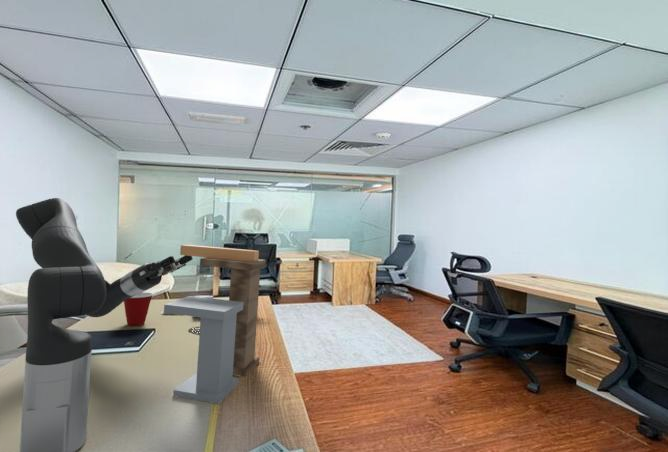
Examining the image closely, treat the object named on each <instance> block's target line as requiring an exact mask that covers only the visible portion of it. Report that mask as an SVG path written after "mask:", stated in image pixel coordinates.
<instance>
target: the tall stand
mask: <svg viewBox="0 0 668 452" xmlns="http://www.w3.org/2000/svg"><path fill="white" fill-rule="evenodd" d="M199 258H200V259H199V266H203V267H212V268H222V269H223V268H224V269H230V279H229V283H230V284H229V294H228V295H229V297H228V300H230V301H238V302H244V303H243V310H241V311H240V312H238V313H237V318H236V333H235V348H234V363H233V376H238V377H246V376H247V375H248V374H249V373H250V372H251V371H252V370H253V369H254V368H255V367H256V366H257V364H259V363H260V356H256V355H255V354H256V342H257V341H256V340H257V339H256V338H257V337H256V336H257V326H258V307H259V293H260V292H259V291H260V280H261V279H260V278H261V268H263V267H266V264H267V263H266V261H267V260H266V259H262V258H261V259H260V258H258V261H255V262H252V261H241V260H230V259H219V258H208V257H199Z"/></svg>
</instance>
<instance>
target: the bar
mask: <svg viewBox="0 0 668 452" xmlns="http://www.w3.org/2000/svg"><path fill="white" fill-rule="evenodd" d="M259 253H260V250H253V249H242V248H232V247H231V248H230V247H219V246H207V245H195V244H180V252H179V255H180V256H185V255H186V256H192V257H199V258H207V257H208V258H219V259H230V260H241V261H252V262H255V261H258V259H259V257H260V256H259Z"/></svg>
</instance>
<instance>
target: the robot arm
mask: <svg viewBox="0 0 668 452" xmlns="http://www.w3.org/2000/svg"><path fill="white" fill-rule="evenodd" d="M15 216H16V219H17V221H18V223H19V225H20V227H21V228H22V229H23V231H24V232H25V234H26V235H27V236H28V237H29V238H30V239H31V252H32V257H33V260H34V261H35V263H36V264H37V265H38V266H39V267H40V268H37V269H36V270H34V271H33V272H32V274H30V276H29V280H28V285H27V297H26V298H27V301H26V302H27V336H26V337H27V338H26V347H25V348H26V351H25V360H24V361H25V362H24V377H23V392H22V405H21V407H22V409H21V410H22V411H21V424H20V439H19V440H20V442H19V452H77V451H78V450H79V449H80V448H81V447H83V445H84V444H85V442H86V441H87V433H88V432H87V430H88V418H89V417H88V416H89V415H88V414H89V400H90V399H89V398H90V383H91V381H90V380H91V370H92V369H91V367H92V352H93V351H92V350H93V337H92V335H91V334H90V333H89V332H86V331H82V330H76V329H68V328H63V327H61V326H59V325H55V324H53V321H54V320H58V319H59V320H60V319H68V318H74V317H82V316H83V317H84V316H88V317H90V318H100V317H104V316H106V315H108V314H110V313H111V312H112V311H115V309H116V308H117V307H119V306H120V305H121V304H122V303H124V301H125V300H127V299H129V298H131V297H133V296H135V295H137V294H140V293H145V292H146V291H148V290H150V289H152V288H153V287H155V286H158V285H159V284H160V283H161V281H162V279H163V278H162V277H163V276H167V275H168V274H169V273H174V272H176V271H177V270H179V269H181V268H184V267H186V266H187V263H189V262H192V260H193V256H186V255H182V257H179V258H177V259H175V258H174V256H173V255H170V256H168V257H166V258H164V259H162V260H158V261H157V262H151V263H150V262H148V263H144V264H143V265H141V266H138V267H136V268H135V269H133V270H130V271H129V272H128V273H126V274H125V275H124V276H122V277H120V278H118V279H116V280H114V281H113V282H111V283H110V282H109V281H107V280H106V279H105V277H104V274H103V272H102V271H101V269H100V268H99V266H98V265H97V263H96V262H95V261H94V260H93V258H92V257H91V255H90V252H89V251H88V247H87V244H86V241H85V240H84V238H83V235H82V234H81V232H80V230H79V228H78V223H77V220H76V215H75V213H74V211H73V209H72V207H71V206H70V205H69V204H68V202H66V201H65V200H64V199H62V198H60V197H54V198H47V199H45V200H41V201H38V202H34V203H31V204H29V205H26V206H22V207H19V208H18V209H16V212H15Z"/></svg>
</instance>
